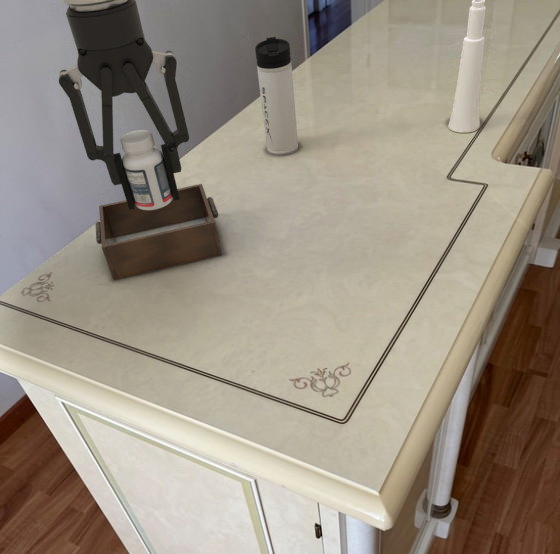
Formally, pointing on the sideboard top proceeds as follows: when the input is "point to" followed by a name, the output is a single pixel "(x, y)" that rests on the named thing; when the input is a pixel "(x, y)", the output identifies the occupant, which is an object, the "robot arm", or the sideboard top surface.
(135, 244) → the brown wooden open box
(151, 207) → the pill bottle
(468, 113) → the cosmetic bottle
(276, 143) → the travel mug
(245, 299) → the sideboard top surface
